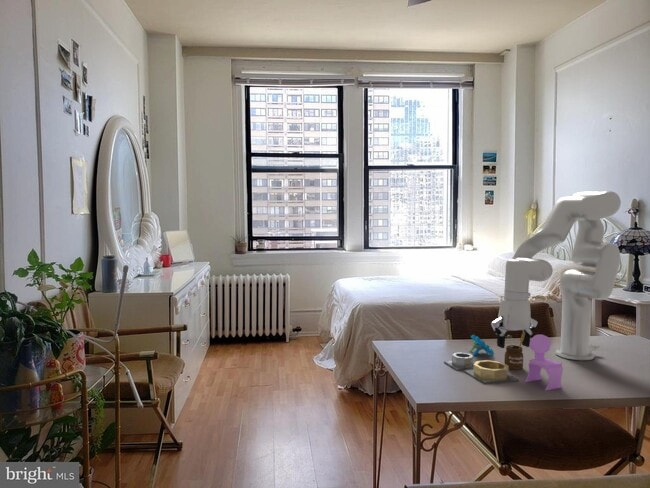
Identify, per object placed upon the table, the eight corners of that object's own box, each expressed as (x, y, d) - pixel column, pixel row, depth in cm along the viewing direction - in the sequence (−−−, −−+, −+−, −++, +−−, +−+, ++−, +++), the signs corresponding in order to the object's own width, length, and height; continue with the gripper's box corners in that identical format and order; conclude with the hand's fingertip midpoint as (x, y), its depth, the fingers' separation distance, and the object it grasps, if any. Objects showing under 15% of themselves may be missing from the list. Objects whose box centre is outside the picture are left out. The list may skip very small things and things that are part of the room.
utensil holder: (501, 364, 177) (502, 330, 177) (518, 364, 178) (519, 330, 177) (509, 370, 172) (510, 334, 171) (527, 369, 172) (528, 334, 171)
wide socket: (495, 368, 173) (496, 358, 173) (518, 380, 161) (519, 369, 161) (464, 371, 170) (464, 361, 169) (485, 384, 158) (485, 372, 158)
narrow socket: (467, 360, 182) (467, 350, 182) (481, 368, 173) (481, 358, 173) (444, 362, 179) (444, 352, 179) (457, 370, 171) (457, 360, 170)
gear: (499, 354, 184) (480, 334, 184) (488, 366, 184) (469, 347, 183) (487, 350, 195) (468, 331, 195) (476, 361, 194) (457, 343, 194)
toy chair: (544, 391, 152) (546, 341, 151) (522, 382, 160) (524, 334, 159) (565, 387, 156) (567, 338, 155) (542, 378, 164) (544, 332, 163)
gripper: (530, 294, 179) (527, 342, 180) (487, 294, 174) (484, 344, 175) (545, 297, 172) (542, 348, 173) (500, 298, 167) (497, 350, 168)
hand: (513, 346), depth 174 cm, fingers open, 9 cm apart
